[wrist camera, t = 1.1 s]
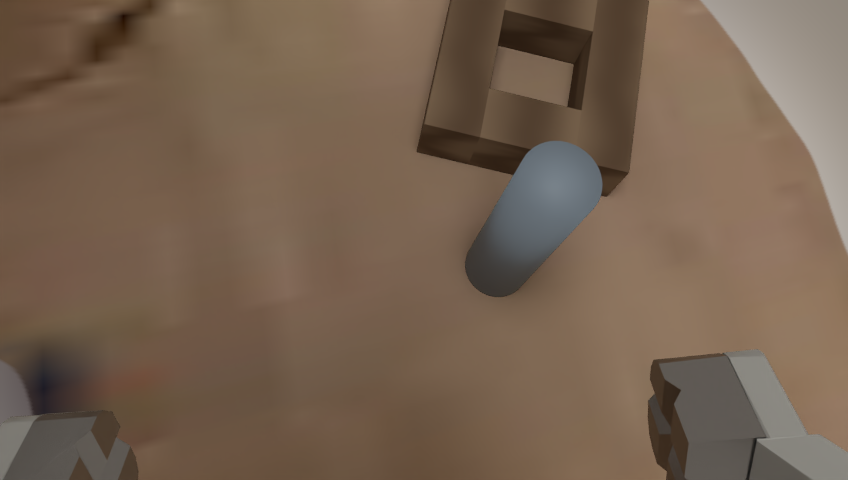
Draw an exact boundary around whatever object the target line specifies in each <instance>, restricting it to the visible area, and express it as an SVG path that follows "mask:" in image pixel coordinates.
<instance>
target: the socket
mask: <svg viewBox="0 0 848 480" xmlns="http://www.w3.org/2000/svg"><path fill="white" fill-rule="evenodd" d="M648 5H649V1H648V0H450V4H449V8H448V13H447V17H446V22H445V26H444V31H443V35H442V40H441V44H440V49H439V53H438V58H437V62H436V67H435V71H434V76H433V80H432V85H431V89H430V94H429V98H428V103H427V107H426V112H425V116H424V121H423V125H422V130H421V135H420V139H419V144H418V148H417V152H420V153H424V154H428V155H432V156H436V157H441V158H445V159H449V160H453V161H458V162H462V163H466V164H470V165H475V166H479V167H483V168H487V169H492V170H496V171H500V172H504V173H509V174H513V175H514V174H515V172H516V170H517V168H518V167H519V165H520V163H521V162H522V160H523V158H524V157H525V155H526V154H527V153H528V152H529V151H530V150H531V149H532V148H534V147H535V146H537V145H539V144H541V143H544V142H549V141H563V142H568V143H571V144H574V145H576V146H578V147H580V148H581V149H583V150H584V151H585V152H587V153H588V154H589V155H590V156H591V157H592V159H593V160H594V161H595V163H596V164H597V166H598V168H599V170H600V173H601V177H602V193H601V195H602V196H606V197H607V196H608V195H609V193H610V192H611V191H612V190H613V189H614V188H615V187H616V186H617V185H618V184H619V183H620V182H621V181H622V180H623V179H624V178H625V176H626V175H627V174H628V173H629V169H630V160H631V151H632V143H633V134H634V126H635V117H636V108H637V100H638V91H639V82H640V74H641V65H642V57H643V48H644V39H645V31H646V22H647V14H648ZM498 45H499V46H504V47H508V48H512V49H516V50H520V51H524V52H528V53H532V54H536V55H540V56H544V57H548V58H553V59H557V60H561V61H565V62H569V63H573V64H574V68H573V75H572V82H571V88H570V95H569V101H568V107H565V106H561V105H557V104H553V103H548V102H544V101H540V100H536V99H532V98H528V97H524V96H520V95H515V94H511V93H507V92H503V91H499V90H495V89H491V88H490V83H491V78H492V72H493V67H494V62H495V57H496V51H497V46H498Z"/></svg>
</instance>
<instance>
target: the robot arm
mask: <svg viewBox="0 0 848 480" xmlns="http://www.w3.org/2000/svg"><path fill="white" fill-rule="evenodd" d="M650 381H651V384H652V387H653V390H654V392H655V394H654V395H653V396H652V397H651V398H650V399H649V400H648V425H649V435H650V440H651V444H652V449H653V452H654V455H655V458H656V462H657V464H658V465H660V466H661V467H662V468H663V469H665V470H666V471H667V475H666V480H848V452H846V451H845V450H843V449H842V448H840V447H839V446H837V445H835V444H834V443H832V442H831V441H829V440H828V439H826V438H825V437H823V436H822V435H820V434H814V435H808V433H807V431H806V429H805V427H804V426H803V424H802V422H801V420H800V418H799V416H798V415H797V413H796V411H795V409H794V407H793V406H792V404H791V402H790V400H789V398H788V396H787V395H786V393H785V391H784V389H783V387H782V386H781V384H780V382H779V380H778V378H777V376H776V375H775V373H774V371H773V369H772V367H771V366H770V364H769V362H768V360H767V358H766V356H765V355H764V353H762V352H761V351H760V350H758V349H756V350H746V351H736V352H726V353H723V354H720V353H717V354H707V355H697V356H687V357H677V358H667V359H657V360H653V363H652V365H651V373H650ZM119 429H120V424H119V423H118V421H117V419H116V417H115V416H114V414H113V412H112V411H106V410H100V411H84V412H69V413H54V414H42V415H33V416H17V417H10V418H9V419H8V420H6V421H5V422H3V423H2V424H1V425H0V480H138V467H137V462H136V457H135V455H134V453H133V451H132V449H131V446H129V445H128V444H126V443H125V442H123V441H121V440H120V439H118V438H117V434H118V432H119Z"/></svg>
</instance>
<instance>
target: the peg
mask: <svg viewBox="0 0 848 480" xmlns="http://www.w3.org/2000/svg"><path fill="white" fill-rule="evenodd" d="M601 193H602V177H601V173H600V170H599V168H598V166H597V164H596V163H595V161H594V160H593V159H592V157H591V156H590V155H589V154H588V153H587V152H585V151H584V150H583V149H581V148H580V147H578V146H576V145H574V144H571V143H568V142H563V141H549V142H544V143H541V144H539V145H537V146H535V147H534V148H532V149H531V150H530V151H529V152H528V153H527V154H526V155H525V157H524V158H523V160H522V162H521V163H520V165H519V167H518V168H517V170H516V172H515V174H514V175H513V177H512V179H511V180H510V182H509V184H508V185H507V187H506V189H505V190H504V192H503V194H502V196H501V197H500V199H499V201H498V202H497V204H496V206H495V207H494V209H493V211H492V212H491V214H490V216H489V218H488V219H487V221H486V223H485V224H484V226H483V228H482V229H481V231H480V233H479V234H478V236H477V238H476V240H475V241H474V243H473V245H472V246H471V248H470V250H469V251H468V254H467V256H466V261H465V268H466V273H467V276H468V278H469V280H470V282H471V283H472V284H473V286H474V287H475V288H476V289H478V290H479V291H480V292H482V293H484V294H486V295H489V296H494V297H503V296H507V295H510V294H512V293H514V292H515V291H517V290H518V289H519V288H520V287H521V286H522V285H523V284H524V283H525V282H526V281H527V279H528V278H529V277H530V276H531V275H532V274H533V273H534V272H535V271H536V270H537V269H538V268H539V267H540V265H541V264H542V263H543V262H544V261H545V260H546V259H547V258H548V257H549V256H550V255H551V254H552V253H553V252H554V250H555V249H556V248H557V247H558V246H559V245H560V244H561V243H562V242H563V241H564V240H565V239H566V238H567V236H568V235H569V234H570V233H571V232H572V231H573V230H574V229H575V228H576V227H577V226H578V225H579V224H580V223H581V221H582V220H583V219H584V218H585V217H586V216H587V215H588V214H589V213H590V212H591V211H592V210H593V209H594V207H595V206H596V205H597V203H598V201H599V199H600V197H601Z"/></svg>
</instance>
